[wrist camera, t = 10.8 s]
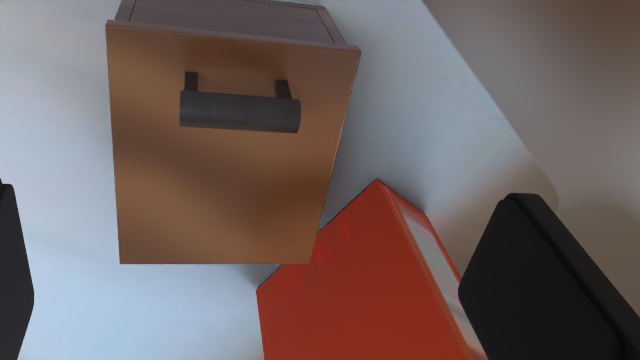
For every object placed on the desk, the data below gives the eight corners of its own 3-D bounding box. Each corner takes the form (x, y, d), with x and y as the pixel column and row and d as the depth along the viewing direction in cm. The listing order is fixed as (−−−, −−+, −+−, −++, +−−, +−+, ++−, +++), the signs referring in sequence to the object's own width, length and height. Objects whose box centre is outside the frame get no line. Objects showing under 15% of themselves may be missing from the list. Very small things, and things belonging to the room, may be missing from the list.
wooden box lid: (107, 18, 27) (90, 62, 23) (358, 45, 30) (382, 88, 26) (121, 256, 37) (111, 314, 33) (307, 256, 41) (319, 310, 37)
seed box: (128, -18, 35) (110, 27, 28) (324, 7, 39) (352, 52, 32) (133, 184, 44) (121, 255, 37) (292, 189, 48) (307, 256, 41)
